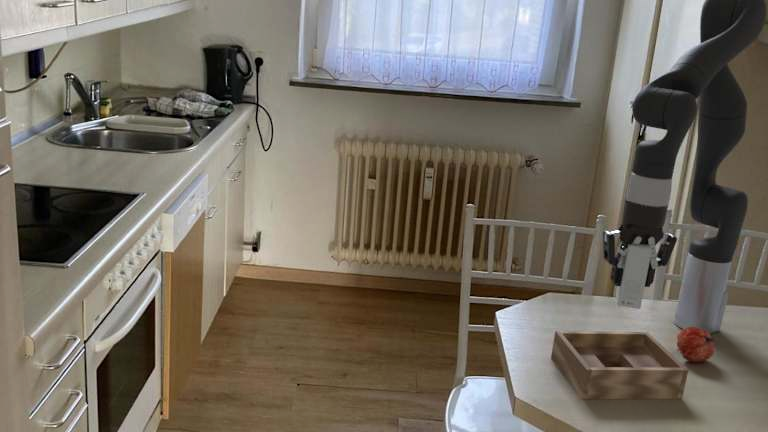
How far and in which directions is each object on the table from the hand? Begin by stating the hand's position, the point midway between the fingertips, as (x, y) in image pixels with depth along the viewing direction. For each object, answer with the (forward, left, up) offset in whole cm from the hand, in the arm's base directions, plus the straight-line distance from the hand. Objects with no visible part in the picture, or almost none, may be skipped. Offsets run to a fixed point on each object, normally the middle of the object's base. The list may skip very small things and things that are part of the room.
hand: (630, 284), depth 146 cm
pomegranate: (-21, -8, -20) cm, 30 cm away
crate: (0, 0, -19) cm, 19 cm away
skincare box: (0, 0, -4) cm, 4 cm away
